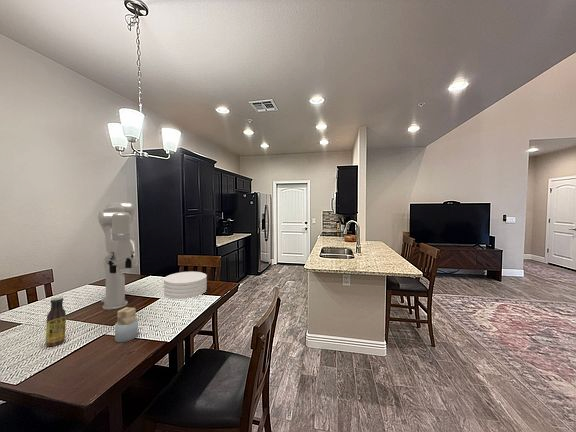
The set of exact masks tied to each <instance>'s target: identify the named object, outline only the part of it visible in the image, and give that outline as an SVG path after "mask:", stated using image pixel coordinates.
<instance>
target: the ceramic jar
mask: <svg viewBox="0 0 576 432" xmlns="http://www.w3.org/2000/svg"><path fill="white" fill-rule="evenodd" d="M138 335H139V319H138V318H136V320H135V321H134V322H132V323H130V324H129V325H119V324H118V321H117V322H115V324H114V341H115V342H116V343H117V342H118V343H124V342H129V341H132V340H134V339H135V338H137V337H138Z"/></svg>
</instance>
